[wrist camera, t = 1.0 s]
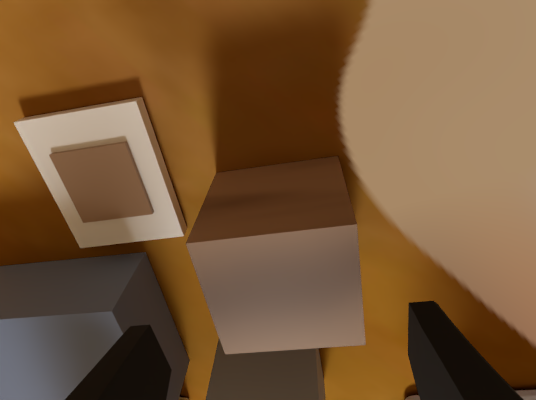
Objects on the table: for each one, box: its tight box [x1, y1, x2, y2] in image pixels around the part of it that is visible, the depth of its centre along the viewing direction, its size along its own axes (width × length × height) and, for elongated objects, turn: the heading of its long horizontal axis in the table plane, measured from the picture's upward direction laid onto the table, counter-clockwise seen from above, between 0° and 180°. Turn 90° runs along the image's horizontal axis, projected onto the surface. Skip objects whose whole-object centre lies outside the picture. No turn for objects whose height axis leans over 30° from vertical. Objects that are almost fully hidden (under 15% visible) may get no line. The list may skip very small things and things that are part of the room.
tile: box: [14, 97, 187, 248], centre depth 15 cm, size 6×5×1 cm
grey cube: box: [206, 339, 325, 400], centre depth 18 cm, size 5×5×5 cm
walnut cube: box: [186, 156, 366, 354], centre depth 14 cm, size 5×5×5 cm
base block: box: [0, 252, 189, 400], centre depth 18 cm, size 8×8×4 cm
